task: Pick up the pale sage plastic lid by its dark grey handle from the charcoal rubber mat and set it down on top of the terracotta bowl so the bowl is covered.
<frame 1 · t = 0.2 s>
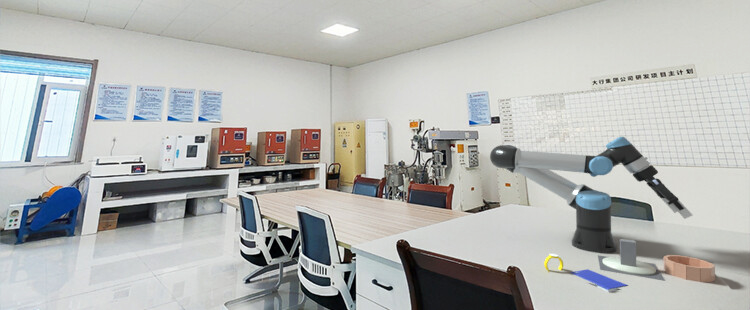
hand: (683, 213, 116), 15 cm above the table, tool tilted 35°, fingers open, 13 cm apart
hard drive: (597, 283, 93), on the table
mat: (627, 268, 102), on the table
yellow curved ring: (553, 272, 101), on the table
bowl: (688, 276, 95), on the table
lid: (627, 266, 102), point 1 cm above the table, touching mat
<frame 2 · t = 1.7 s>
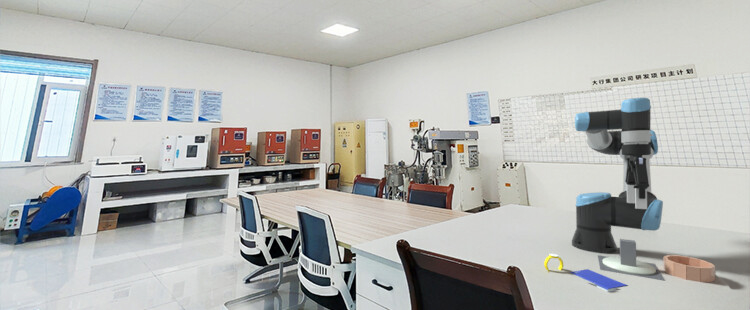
hand: (636, 205, 101), 22 cm above the table, tool pointing down, fingers open, 13 cm apart
nothing on the table moved.
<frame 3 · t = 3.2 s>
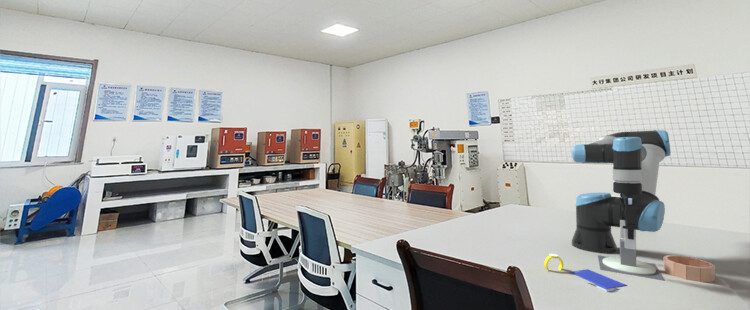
hand: (627, 243, 101), 9 cm above the table, tool pointing down, fingers open, 13 cm apart
nothing on the table moved.
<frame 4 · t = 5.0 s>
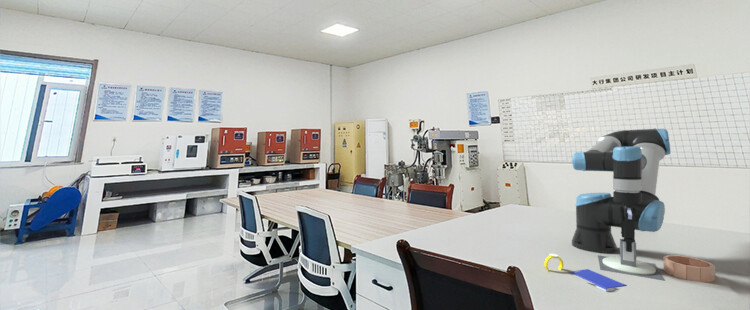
hand: (627, 258, 102), 4 cm above the table, tool pointing down, fingers closed on lid, 3 cm apart
lid: (627, 266, 102), point 1 cm above the table, touching gripper, mat
everything else where it was.
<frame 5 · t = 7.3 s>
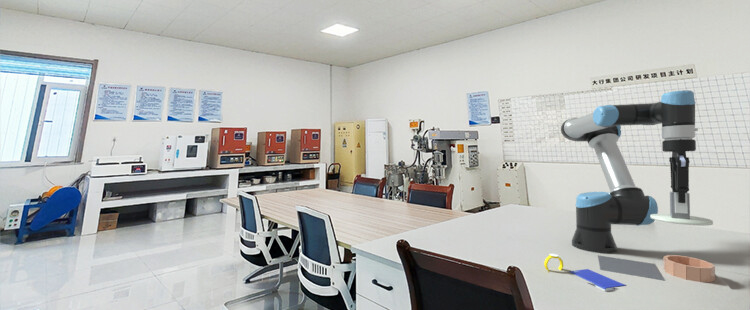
hand: (680, 211, 95), 21 cm above the table, tool pointing down, fingers closed on lid, 3 cm apart
lid: (679, 220, 95), point 18 cm above the table, touching gripper
everything else where it was.
when the fingers open (9 cm above the table, at t = 9.6 s): lid drops 1 cm, resting on bowl.
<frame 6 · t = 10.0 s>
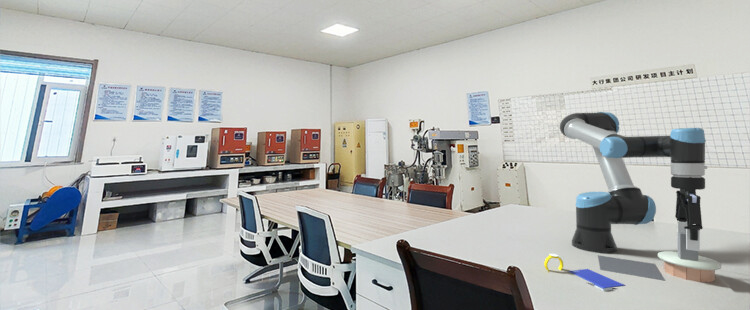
hand: (687, 245, 95), 10 cm above the table, tool pointing down, fingers open, 9 cm apart
lid: (687, 261, 95), point 5 cm above the table, touching bowl
everything else where it was.
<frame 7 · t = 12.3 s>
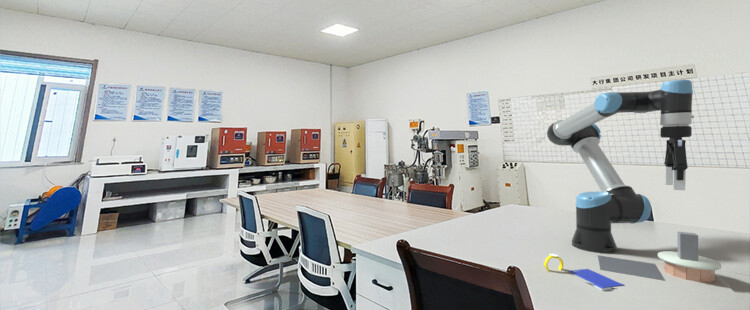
hand: (674, 187, 102), 28 cm above the table, tool pointing down, fingers open, 13 cm apart
nothing on the table moved.
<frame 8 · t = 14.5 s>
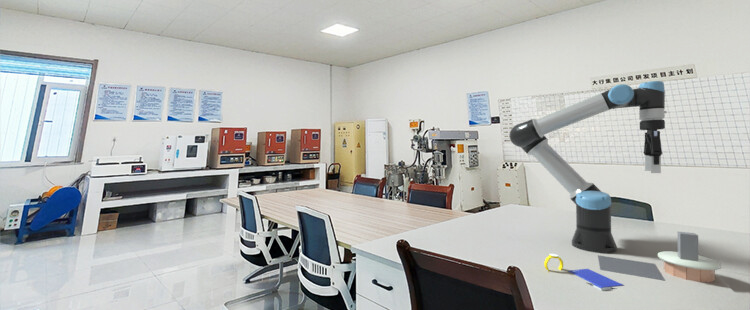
hand: (652, 171, 120), 32 cm above the table, tool pointing down, fingers open, 13 cm apart
nothing on the table moved.
at the end: lid 0.0 cm off-centre on the bowl, point 5.0 cm above the bowl's base; lid tilted 0°; the gripper is holding nothing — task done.
